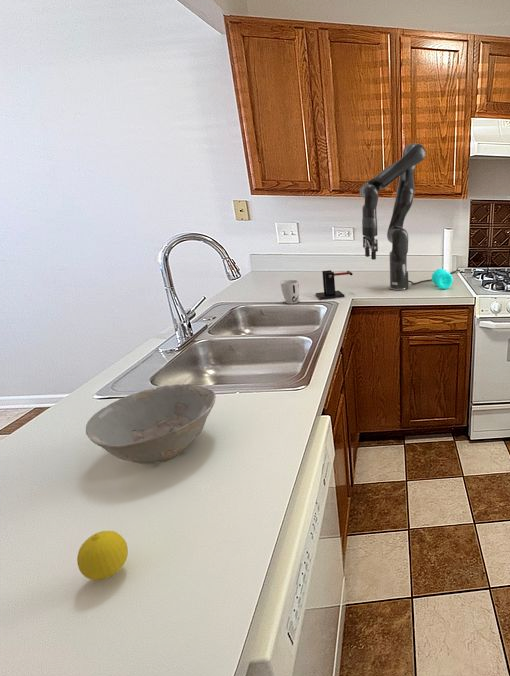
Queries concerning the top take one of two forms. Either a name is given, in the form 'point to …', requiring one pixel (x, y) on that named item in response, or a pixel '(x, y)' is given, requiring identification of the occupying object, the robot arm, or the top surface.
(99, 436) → the ceramic bowl
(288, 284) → the cup
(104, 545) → the lemon
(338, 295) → the bracket
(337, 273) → the lever
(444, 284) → the turquoise rounded cylinder
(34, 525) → the top surface
